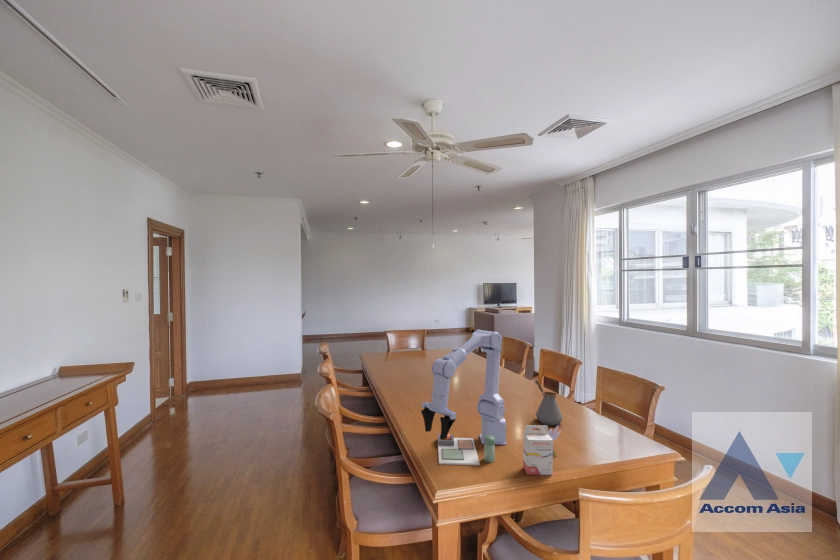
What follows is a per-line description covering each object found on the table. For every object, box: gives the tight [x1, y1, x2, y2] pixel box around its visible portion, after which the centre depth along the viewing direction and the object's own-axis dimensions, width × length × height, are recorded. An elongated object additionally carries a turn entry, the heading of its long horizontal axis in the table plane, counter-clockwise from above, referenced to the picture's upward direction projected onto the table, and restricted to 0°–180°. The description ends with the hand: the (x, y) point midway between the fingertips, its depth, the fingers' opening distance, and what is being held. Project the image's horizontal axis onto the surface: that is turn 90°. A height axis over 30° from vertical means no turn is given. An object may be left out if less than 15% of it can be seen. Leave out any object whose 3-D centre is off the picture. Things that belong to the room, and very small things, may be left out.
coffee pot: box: [534, 379, 564, 426], centre depth 170 cm, size 21×12×15 cm, turn 5°
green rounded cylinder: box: [483, 435, 496, 463], centre depth 130 cm, size 4×4×8 cm
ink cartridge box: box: [522, 424, 554, 476], centre depth 122 cm, size 9×5×15 cm, turn 92°
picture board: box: [437, 433, 481, 466], centre depth 136 cm, size 14×20×2 cm
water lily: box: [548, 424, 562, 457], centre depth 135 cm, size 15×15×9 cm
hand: (435, 434), depth 126 cm, fingers open, 7 cm apart
